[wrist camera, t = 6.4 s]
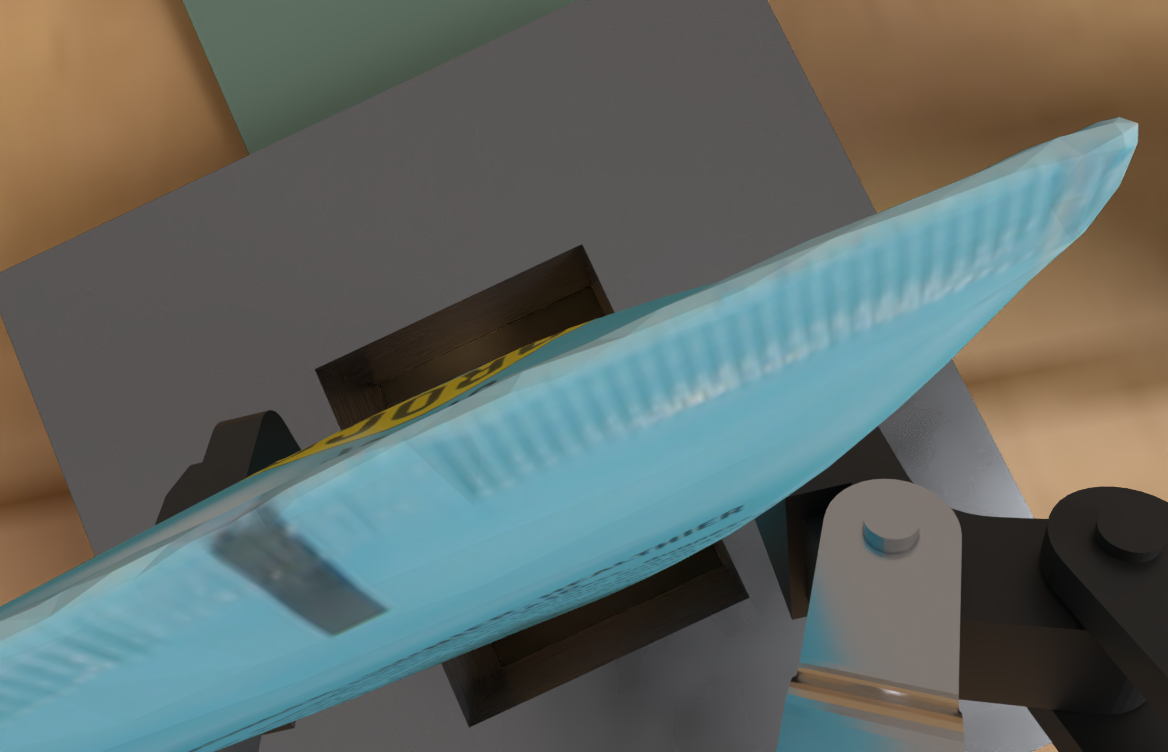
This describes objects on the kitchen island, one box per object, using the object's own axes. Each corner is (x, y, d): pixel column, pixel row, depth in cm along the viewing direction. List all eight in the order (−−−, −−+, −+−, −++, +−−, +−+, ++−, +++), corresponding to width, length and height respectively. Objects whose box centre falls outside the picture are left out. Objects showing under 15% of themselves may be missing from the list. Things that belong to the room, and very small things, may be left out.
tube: (645, 326, 22) (775, -433, 3) (737, 481, 22) (1571, 709, 3) (408, 465, 22) (-927, 559, 3) (496, 623, 22) (-445, 1907, 3)
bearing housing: (708, 32, 25) (729, -72, 20) (1020, 649, 23) (1130, 706, 18) (113, 312, 25) (-14, 278, 20) (372, 947, 23) (303, 1086, 18)
